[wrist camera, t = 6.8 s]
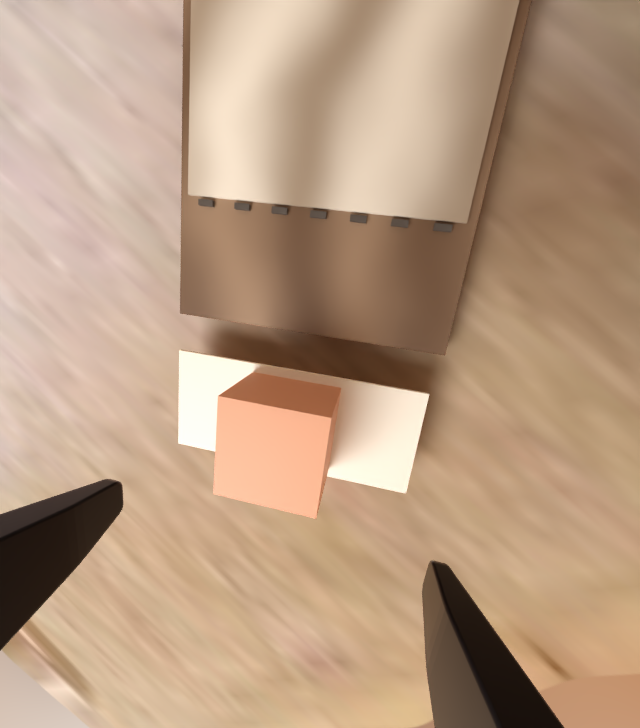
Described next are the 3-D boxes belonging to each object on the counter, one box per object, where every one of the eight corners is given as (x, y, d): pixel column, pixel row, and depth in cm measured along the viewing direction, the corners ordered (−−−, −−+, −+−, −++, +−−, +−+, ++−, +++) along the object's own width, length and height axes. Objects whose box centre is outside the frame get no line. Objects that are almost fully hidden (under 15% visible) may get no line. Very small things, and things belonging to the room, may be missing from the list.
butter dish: (428, 392, 16) (447, 428, 12) (405, 491, 17) (415, 552, 13) (181, 349, 18) (124, 367, 14) (180, 441, 19) (128, 482, 15)
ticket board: (542, -78, 12) (564, -127, 11) (439, 350, 17) (445, 356, 16) (201, -70, 14) (181, -111, 13) (192, 311, 19) (177, 313, 18)
